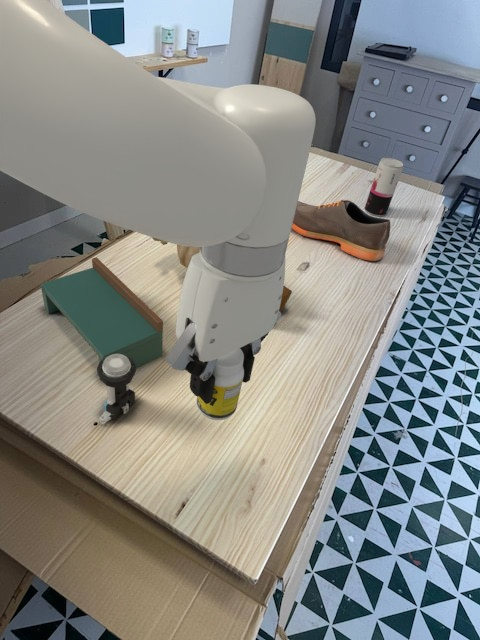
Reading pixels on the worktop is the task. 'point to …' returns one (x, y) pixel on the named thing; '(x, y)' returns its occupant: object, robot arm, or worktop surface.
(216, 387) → the supplement bottle
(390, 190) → the beverage can
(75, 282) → the shelf
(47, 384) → the worktop surface
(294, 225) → the oxford shoe
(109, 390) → the push button
